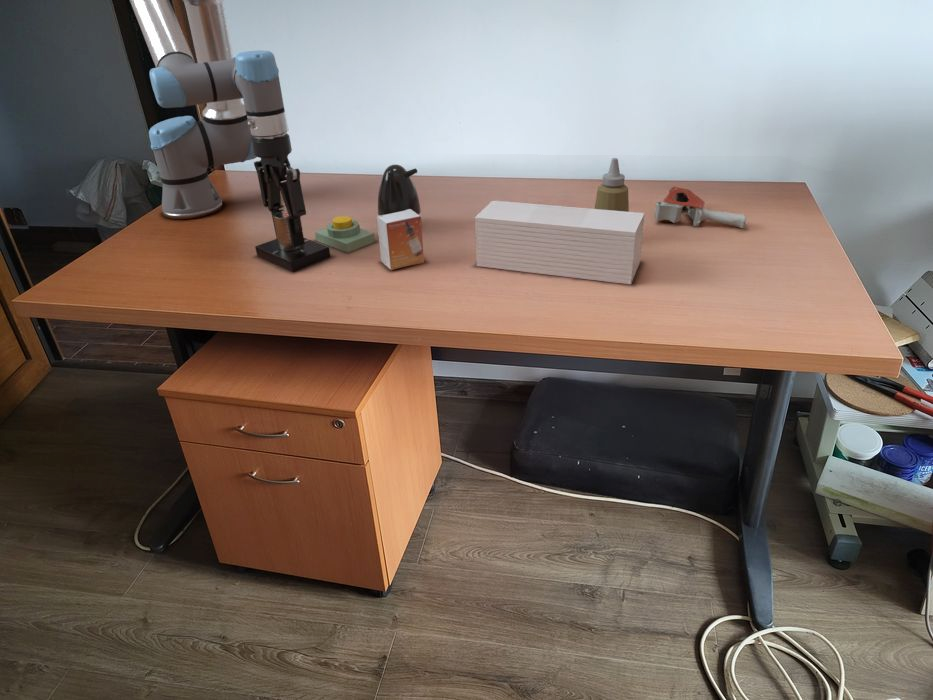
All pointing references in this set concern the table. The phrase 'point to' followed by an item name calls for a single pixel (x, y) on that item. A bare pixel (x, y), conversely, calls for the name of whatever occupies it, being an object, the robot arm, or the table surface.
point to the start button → (342, 222)
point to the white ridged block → (560, 240)
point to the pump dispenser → (397, 191)
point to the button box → (345, 237)
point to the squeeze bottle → (613, 190)
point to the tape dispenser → (692, 209)
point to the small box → (400, 239)
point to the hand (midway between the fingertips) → (290, 242)
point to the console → (293, 254)
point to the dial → (283, 231)
